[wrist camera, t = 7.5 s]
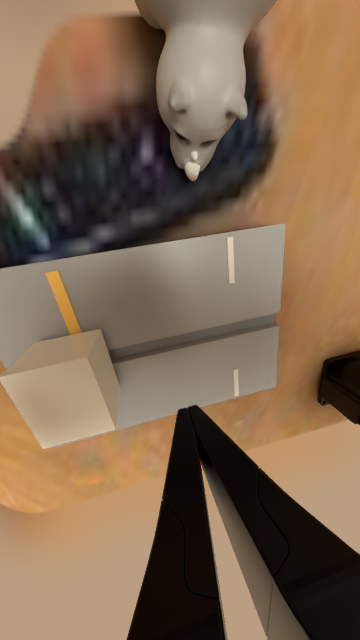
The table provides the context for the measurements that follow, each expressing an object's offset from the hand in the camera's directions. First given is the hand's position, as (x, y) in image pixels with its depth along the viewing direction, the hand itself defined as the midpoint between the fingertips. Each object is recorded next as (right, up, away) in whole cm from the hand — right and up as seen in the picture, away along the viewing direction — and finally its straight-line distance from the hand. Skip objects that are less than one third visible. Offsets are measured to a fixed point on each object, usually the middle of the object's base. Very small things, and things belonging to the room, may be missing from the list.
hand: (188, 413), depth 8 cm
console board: (-3, +3, +8) cm, 9 cm away
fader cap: (-7, +1, +6) cm, 9 cm away
